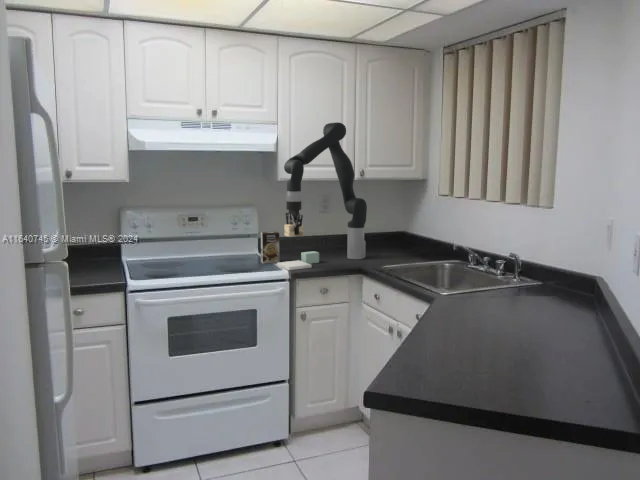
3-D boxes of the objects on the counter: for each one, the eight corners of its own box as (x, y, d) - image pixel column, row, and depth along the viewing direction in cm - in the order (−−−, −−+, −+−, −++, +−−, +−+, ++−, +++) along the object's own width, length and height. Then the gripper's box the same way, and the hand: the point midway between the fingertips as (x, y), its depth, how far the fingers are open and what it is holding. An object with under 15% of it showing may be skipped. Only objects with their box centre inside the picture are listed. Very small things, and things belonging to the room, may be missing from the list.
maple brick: (298, 234, 271) (298, 223, 270) (303, 235, 267) (303, 224, 266) (284, 235, 267) (284, 224, 266) (289, 236, 262) (289, 225, 262)
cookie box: (262, 264, 275) (262, 233, 273) (260, 261, 282) (260, 231, 279) (279, 263, 278) (279, 232, 275) (277, 260, 284) (277, 231, 282)
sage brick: (314, 261, 284) (314, 251, 283) (319, 262, 280) (319, 252, 279) (301, 262, 280) (301, 252, 279) (306, 264, 276) (306, 253, 275)
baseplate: (298, 263, 278) (298, 260, 278) (311, 267, 267) (311, 264, 267) (276, 265, 271) (276, 262, 271) (288, 270, 260) (288, 267, 260)
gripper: (307, 201, 260) (307, 235, 263) (293, 199, 272) (293, 231, 275) (294, 201, 256) (294, 236, 259) (280, 199, 268) (280, 232, 271)
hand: (293, 233), depth 267 cm, fingers closed on maple brick, 5 cm apart
